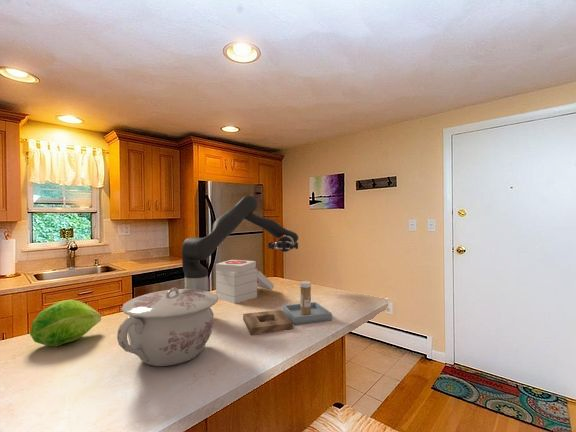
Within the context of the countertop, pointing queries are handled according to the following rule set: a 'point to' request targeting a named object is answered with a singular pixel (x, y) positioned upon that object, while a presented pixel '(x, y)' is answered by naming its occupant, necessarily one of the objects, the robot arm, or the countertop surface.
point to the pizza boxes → (239, 280)
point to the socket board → (260, 327)
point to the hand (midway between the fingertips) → (281, 247)
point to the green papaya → (63, 322)
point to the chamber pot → (167, 325)
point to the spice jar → (305, 297)
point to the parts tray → (297, 318)
